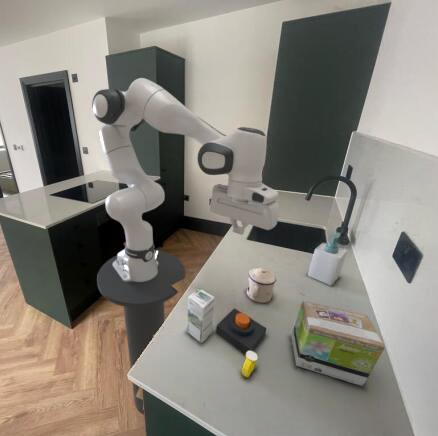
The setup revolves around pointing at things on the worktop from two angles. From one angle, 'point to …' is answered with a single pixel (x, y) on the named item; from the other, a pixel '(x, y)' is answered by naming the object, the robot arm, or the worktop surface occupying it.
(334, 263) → the soap bottle
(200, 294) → the syrup box
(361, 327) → the tea box
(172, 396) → the worktop surface
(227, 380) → the worktop surface
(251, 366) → the yellow chunky piece
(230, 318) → the button base
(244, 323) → the orange button cap
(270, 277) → the teacup with lid
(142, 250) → the robot arm
